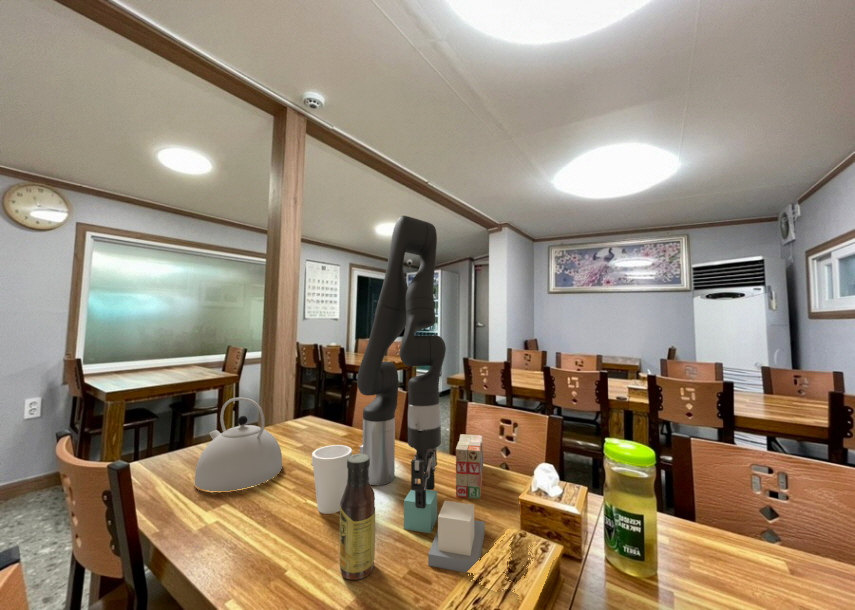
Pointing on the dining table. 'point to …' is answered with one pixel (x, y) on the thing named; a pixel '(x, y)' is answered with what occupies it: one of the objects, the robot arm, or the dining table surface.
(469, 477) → the stack of blocks
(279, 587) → the dining table surface
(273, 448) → the kettle
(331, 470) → the foam cup
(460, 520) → the cream cube
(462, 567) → the board
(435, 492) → the teal cube
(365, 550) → the sauce bottle
